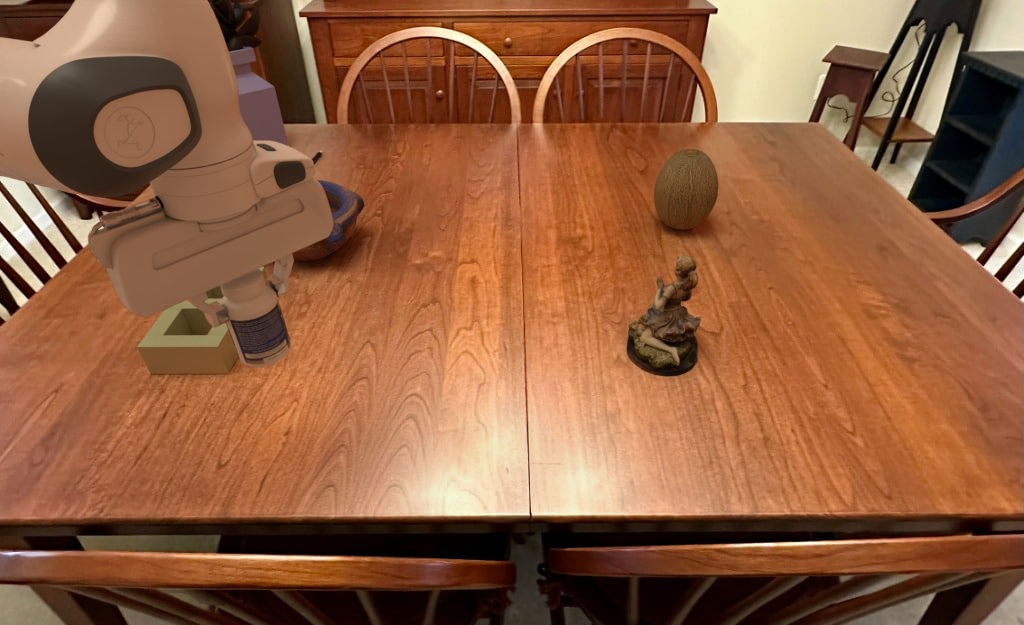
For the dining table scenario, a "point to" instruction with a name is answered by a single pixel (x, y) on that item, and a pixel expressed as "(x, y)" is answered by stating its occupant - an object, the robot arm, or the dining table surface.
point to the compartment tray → (189, 341)
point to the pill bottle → (255, 320)
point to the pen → (317, 156)
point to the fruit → (686, 189)
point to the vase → (250, 72)
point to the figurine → (667, 326)
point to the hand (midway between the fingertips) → (251, 306)
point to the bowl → (335, 221)
